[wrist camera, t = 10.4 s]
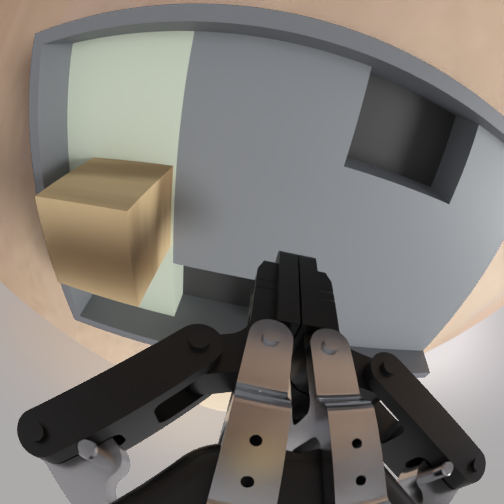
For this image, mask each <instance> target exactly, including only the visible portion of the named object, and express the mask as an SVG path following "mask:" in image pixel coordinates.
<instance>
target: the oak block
mask: <svg viewBox="0 0 504 504" xmlns="http://www.w3.org/2000/svg"><path fill="white" fill-rule="evenodd" d="M172 179H173V166H171V165H163V164H155V163H147V162H138V161H128V160H118V159H107V158H92V159H90V160H89V161H87V162H85V163H84V164H82V165H80V166H79V167H77V168H75V169H74V170H72V171H71V172H69V173H68V174H66V175H64V176H63V177H61V178H60V179H58V180H57V181H55V182H54V183H53V184H51V185H50V186H48V187H47V188H45V189H44V190H43V191H41V192H40V193H38V194H37V195H36V196H35V199H36V204H37V209H38V214H39V218H40V223H41V227H42V231H43V235H44V238H45V242H46V246H47V249H48V253H49V256H50V259H51V262H52V265H53V268H54V271H55V274H56V277H57V280H58V282H59V283H62V284H65V285H68V286H71V287H74V288H77V289H80V290H83V291H86V292H89V293H92V294H95V295H99V296H102V297H105V298H108V299H112V300H115V301H118V302H122V303H125V304H129V305H133V306H136V307H139V305H140V303H141V301H142V299H143V297H144V295H145V293H146V291H147V289H148V287H149V285H150V283H151V281H152V279H153V278H154V276H155V274H156V272H157V270H158V268H159V266H160V264H161V263H162V261H163V259H164V257H165V255H166V254H167V252H168V250H169V248H170V246H171V201H172Z"/></svg>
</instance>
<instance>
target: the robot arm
mask: <svg viewBox="0 0 504 504" xmlns="http://www.w3.org/2000/svg"><path fill="white" fill-rule="evenodd" d="M334 301H335V299H334V294H333V287H332V282H331V280H330V279H329V277H328V276H327V274H326V273H324V272H319V271H318V269H317V262H316V258H313V257H308V256H303V255H299V254H298V255H297V254H293V253H289V252H284V251H279V252H278V254H277V257H276V261H275V263H274V262H270V261H265V260H264V261H263V262H262V264H261V265H260V266H259V267H258V269H257V273H256V277H255V281H254V285H253V289H252V293H251V298H250V305H249V312H248V318H247V325H246V327H245V328H244V329H243V330H241V331H239V332H236V333H230V334H219V333H218V332H217V331H216V330H215V329H214V328H212V327H210V326H208V325H204V324H191V325H188V326H185V327H183V328H182V329H180V330H178V331H176V332H175V333H173V334H171V335H169V336H168V337H166V338H164V339H162V340H161V341H159V342H157V343H155V344H154V345H152V346H150V347H148V348H146V349H145V350H143V351H141V352H139V353H137V354H136V355H134V356H132V357H130V358H128V359H126V360H125V361H123V362H121V363H119V364H117V365H115V366H114V367H112V368H110V369H108V370H106V371H104V372H103V373H100V374H99V375H97V376H95V377H93V378H91V379H89V380H87V381H86V382H83V383H81V384H80V385H78V386H76V387H74V388H72V389H70V390H68V391H66V392H64V393H62V394H60V395H58V396H56V397H54V398H52V399H50V400H48V401H46V402H44V403H42V404H40V405H38V406H36V407H34V408H32V409H30V410H28V411H26V412H25V413H24V414H23V415H22V416H21V417H20V419H19V422H18V427H17V432H18V437H19V440H20V442H21V444H22V446H23V447H24V448H25V450H26V451H28V452H29V453H30V454H32V455H34V456H36V457H38V458H40V459H42V460H44V461H45V463H46V464H47V466H48V467H49V469H50V471H51V472H52V474H53V476H54V478H55V479H56V481H57V483H58V484H59V486H60V487H61V489H62V490H63V492H64V493H65V495H66V497H67V498H68V499H69V501H70V502H71V504H449V503H450V501H451V500H452V498H453V497H454V495H455V493H456V491H457V490H458V489H459V488H462V487H464V486H467V485H470V484H472V483H475V482H477V481H479V480H480V478H481V477H482V475H483V474H484V471H485V466H486V465H485V464H486V462H485V457H484V454H483V453H482V451H481V450H480V449H479V448H478V447H477V446H476V444H475V443H474V442H473V441H472V440H471V438H470V437H469V436H468V435H467V434H466V433H465V431H464V430H463V429H462V428H461V427H460V426H459V425H458V423H456V421H455V420H454V419H453V418H452V417H451V416H450V415H449V413H447V411H446V410H445V409H444V408H443V407H442V406H441V404H440V403H439V402H438V401H437V400H436V399H435V398H434V397H433V396H432V395H431V394H430V392H429V391H428V390H427V389H426V388H425V387H424V386H423V385H422V384H421V382H420V381H419V380H418V379H417V378H416V377H415V376H414V375H413V374H412V373H411V372H410V371H409V370H408V369H407V367H406V366H405V365H404V364H403V363H402V362H401V361H400V360H399V359H398V358H397V357H396V356H394V355H393V354H391V353H388V352H380V353H377V354H376V355H375V356H374V357H373V358H370V357H368V356H365V355H363V354H361V353H358V352H356V351H354V350H352V349H351V348H350V345H349V343H348V341H347V339H346V338H345V337H344V336H343V335H342V334H341V333H340V331H339V324H338V318H337V311H336V305H335V302H334ZM290 369H291V371H290ZM224 392H232V393H231V397H230V400H229V404H228V408H227V412H226V416H225V420H224V423H223V427H222V430H221V434H220V438H219V442H218V444H213V445H208V446H204V447H201V448H198V449H195V450H193V451H191V452H189V453H187V454H186V455H184V456H182V457H181V458H180V459H178V460H177V461H176V462H175V463H173V464H171V465H170V466H169V467H167V468H166V469H164V470H163V471H161V472H160V473H158V474H157V475H155V476H154V477H152V478H151V479H149V480H148V481H146V482H145V483H144V484H142V485H140V486H138V487H137V488H136V489H134V490H132V491H131V492H129V493H127V494H125V495H124V496H122V497H120V498H118V499H117V497H116V493H115V490H116V486H117V484H118V482H119V481H120V480H121V479H122V478H123V477H124V476H126V474H127V473H128V471H129V468H130V459H129V456H128V454H127V452H126V450H127V449H129V448H131V447H133V446H134V445H136V444H138V443H139V442H141V441H143V440H144V439H146V438H148V437H149V436H151V435H153V434H154V433H156V432H157V431H159V430H160V429H162V428H163V427H165V426H167V425H168V424H170V423H171V422H173V421H174V420H176V419H177V418H179V417H180V416H182V415H183V414H185V413H186V412H188V411H189V410H191V409H192V408H194V407H195V406H196V405H198V404H199V403H201V402H202V401H203V400H205V399H206V398H208V397H209V396H210V395H211V394H215V393H224ZM380 400H381V401H382V402H383V403H384V404H385V405H386V406H387V408H388V409H389V410H390V411H391V412H392V413H393V414H394V415H395V416H396V418H397V419H398V420H399V421H397V420H396V419H395V418H394V417H393V416H392V415H391V414H390V413H389V411H387V410H386V408H385V407H384V406H383V405H382V404H381V403H380V402H379V401H380ZM383 462H384V463H385V464H386V465H387V466H388V467H389V468H390V469H391V470H392V471H393V473H394V474H395V475H396V476H397V477H398V478H399V479H397V480H396V479H395V478H394V477H393V476H392V475H391V474H390V472H389V471H388V470H387V469H386V468H385V466H384V464H383Z"/></svg>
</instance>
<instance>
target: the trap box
mask: <svg viewBox="0 0 504 504" xmlns="http://www.w3.org/2000/svg"><path fill="white" fill-rule="evenodd" d="M29 131H30V146H31V157H32V166H33V173H34V180H35V187H36V193H37V194H38V193H40V192H41V191H43V190H44V189H45V188H47V187H48V186H50V185H51V184H53V183H54V182H55V181H57V180H58V179H60V178H61V177H63V176H64V175H66V174H68V173H69V172H71V171H72V170H74V169H75V168H77V167H79V166H80V165H82V164H84V163H85V162H87V161H89V160H90V159H92V158H107V159H118V160H128V161H138V162H147V163H155V164H163V165H171V166H173V179H172V201H171V246H170V248H169V250H168V252H167V254H166V255H165V257H164V259H163V261H162V263H161V264H160V266H159V268H158V270H157V272H156V274H155V276H154V278H153V279H152V281H151V283H150V285H149V287H148V289H147V291H146V293H145V295H144V297H143V299H142V301H141V303H140V305H139V307H136V306H133V305H129V304H125V303H122V302H118V301H115V300H112V299H108V298H105V297H102V296H99V295H95V294H92V293H89V292H86V291H83V290H80V289H77V288H74V287H71V286H68V285H65V284H62V283H61V286H62V289H63V292H64V294H65V297H66V300H67V302H68V305H69V307H70V310H71V312H72V314H73V317H74V319H75V320H77V321H80V322H83V323H85V324H88V325H91V326H94V327H96V328H99V329H102V330H105V331H108V332H111V333H114V334H117V335H120V336H123V337H126V338H130V339H133V340H136V341H140V342H143V343H146V344H150V345H154V344H155V343H157V342H159V341H161V340H162V339H164V338H166V337H168V336H169V335H171V334H173V333H175V332H176V331H178V330H180V329H182V328H183V327H185V326H188V325H191V324H204V325H208V326H210V327H212V328H214V329H215V330H216V331H217V332H218V333H219V334H230V333H236V332H239V331H241V330H243V329H244V328H245V327H246V325H247V318H248V312H249V305H250V298H251V293H252V289H253V285H254V281H255V277H256V273H257V269H258V267H259V266H260V265H261V264H262V262H263V261H264V260H265V261H270V262H274V263H275V261H276V257H277V254H278V252H279V251H284V252H289V253H293V254H297V255H298V254H299V255H303V256H308V257H313V258H316V262H317V269H318V271H319V272H324V273H326V274H327V276H328V277H329V279H330V280H331V282H332V287H333V294H334V299H335V301H334V302H335V305H336V311H337V318H338V324H339V331H340V333H341V334H342V335H343V336H344V337H345V338H346V339H347V341H348V343H349V345H350V348H351V349H352V350H354V351H356V352H358V353H361V354H363V355H365V356H368V357H370V358H373V357H374V356H375V355H376V354H377V353H380V352H388V353H391V354H393V355H394V356H396V357H397V358H398V359H399V360H400V361H401V362H402V363H403V364H404V365H405V366H406V367H407V369H408V370H409V371H410V372H411V373H412V374H413V375H414V376H415V377H416V378H421V377H426V376H427V375H428V374H429V373H430V372H429V369H428V365H427V362H426V359H425V356H424V353H423V350H424V349H425V348H426V347H427V346H428V345H429V344H430V343H431V341H432V340H433V339H434V338H435V337H436V336H437V335H438V333H439V332H440V331H441V330H442V329H443V328H444V326H445V325H446V324H447V323H448V322H449V320H450V319H451V318H452V317H453V315H454V314H455V313H456V312H457V310H458V309H459V308H460V306H461V305H462V304H463V302H464V301H465V300H466V298H467V297H468V296H469V294H470V293H471V291H472V290H473V289H474V287H475V286H476V284H477V283H478V281H479V280H480V278H481V277H482V275H483V274H484V272H485V271H486V269H487V267H488V266H489V264H490V263H491V261H492V259H493V258H494V256H495V254H496V253H497V251H498V249H499V247H500V246H501V244H502V242H503V240H504V116H502V115H501V114H500V113H499V112H498V111H497V110H495V109H494V108H493V107H492V106H490V105H489V104H488V103H487V102H485V101H484V100H483V99H481V98H480V97H479V96H477V95H476V94H475V93H473V92H472V91H471V90H469V89H468V88H466V87H465V86H463V85H462V84H460V83H459V82H457V81H456V80H454V79H453V78H451V77H450V76H448V75H446V74H445V73H443V72H442V71H440V70H438V69H437V68H435V67H433V66H431V65H430V64H428V63H426V62H424V61H422V60H420V59H419V58H417V57H415V56H413V55H411V54H409V53H407V52H405V51H403V50H400V49H398V48H396V47H394V46H392V45H390V44H387V43H385V42H383V41H380V40H378V39H375V38H373V37H370V36H368V35H365V34H362V33H360V32H357V31H354V30H351V29H348V28H345V27H342V26H339V25H336V24H332V23H329V22H326V21H322V20H318V19H314V18H310V17H306V16H302V15H297V14H293V13H288V12H282V11H277V10H271V9H264V8H257V7H249V6H239V5H225V4H167V5H154V6H145V7H137V8H129V9H123V10H117V11H112V12H107V13H102V14H97V15H93V16H89V17H85V18H81V19H77V20H74V21H70V22H67V23H64V24H61V25H58V26H55V27H52V28H49V29H46V30H43V31H41V32H38V33H36V34H35V37H34V43H33V50H32V59H31V69H30V83H29ZM290 371H291V369H290Z"/></svg>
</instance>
